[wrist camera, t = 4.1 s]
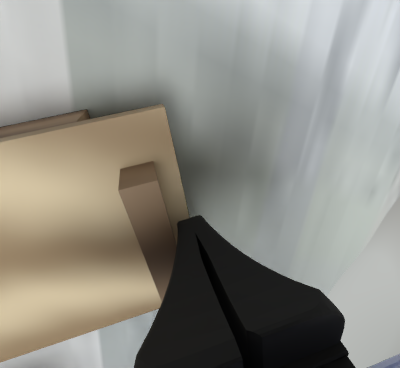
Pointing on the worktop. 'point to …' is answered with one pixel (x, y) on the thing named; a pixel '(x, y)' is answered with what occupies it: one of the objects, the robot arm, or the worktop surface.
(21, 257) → the lid
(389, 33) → the worktop surface
